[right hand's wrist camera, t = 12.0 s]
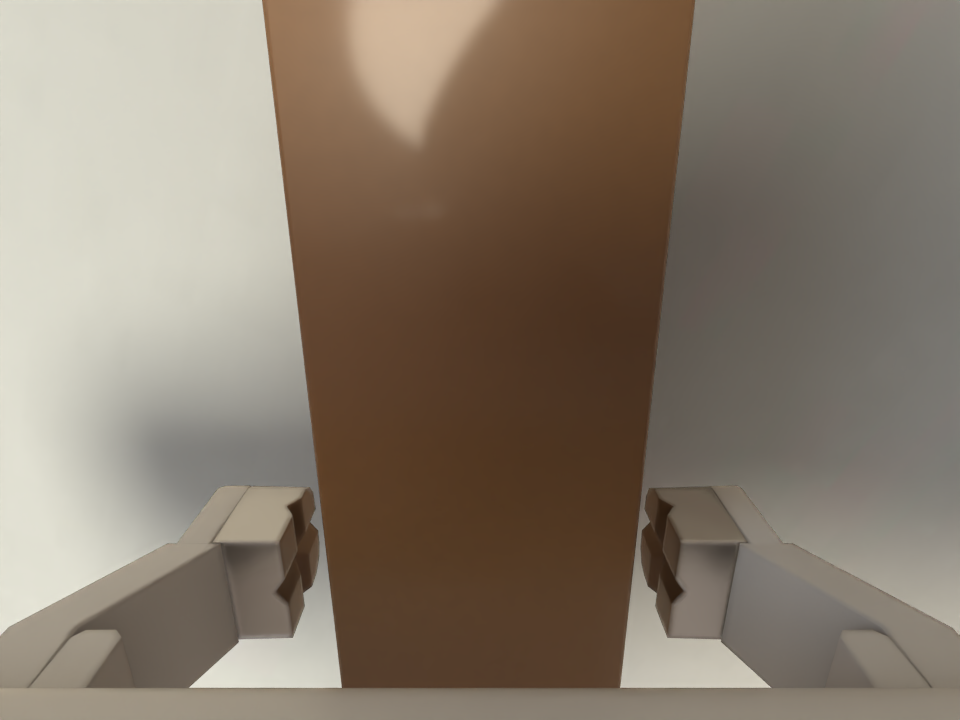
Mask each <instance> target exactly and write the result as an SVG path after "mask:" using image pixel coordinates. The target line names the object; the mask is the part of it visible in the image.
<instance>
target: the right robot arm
mask: <svg viewBox="0 0 960 720" xmlns="http://www.w3.org/2000/svg"><path fill="white" fill-rule="evenodd" d="M315 509H316V508H315V502H314V495H313V491H312V490H311V489H310V487H280V486H223V487H220V488H218V489H217V490H216V492H215V493H214V494H213V496H212V497H211V498H210V500H209V501H208V502H207V504H206V505H205V506H204V508H203V509H202V510H201V512H200V513H199V514H198V516H197V517H196V518H195V520H194V521H193V523H192V524H191V525H190V527H189V528H188V529H187V531H186V532H185V533H184V535H183V536H182V537H181V539H180V540H179V541H178V543H168V544H166V545H164V546H162V547H160V548H158V549H156V550H154V551H152V552H150V553H149V554H147V555H145V556H143V557H141V558H139V559H137V560H135V561H133V562H132V563H130V564H128V565H126V566H124V567H122V568H120V569H118V570H116V571H114V572H113V573H111V574H109V575H107V576H105V577H103V578H101V579H99V580H97V581H95V582H94V583H92V584H90V585H88V586H86V587H84V588H82V589H80V590H78V591H76V592H75V593H73V594H71V595H69V596H67V597H65V598H63V599H61V600H59V601H57V602H56V603H54V604H52V605H50V606H48V607H46V608H44V609H42V610H40V611H38V612H37V613H35V614H33V615H31V616H29V617H27V618H25V619H23V620H21V621H20V622H18V623H16V624H14V625H12V626H10V627H8V628H7V630H6V631H5V632H4V633H3V634H2V635H1V636H0V720H960V635H959V634H958V633H957V632H956V631H955V630H954V629H953V628H951V627H950V626H948V625H946V624H944V623H942V622H940V621H938V620H936V619H934V618H933V617H931V616H929V615H927V614H925V613H923V612H921V611H919V610H917V609H916V608H914V607H912V606H910V605H908V604H906V603H904V602H902V601H900V600H898V599H897V598H895V597H893V596H891V595H889V594H887V593H885V592H883V591H881V590H880V589H878V588H876V587H874V586H872V585H870V584H868V583H866V582H864V581H863V580H861V579H859V578H857V577H855V576H853V575H851V574H849V573H847V572H846V571H844V570H842V569H840V568H838V567H836V566H834V565H832V564H830V563H828V562H827V561H825V560H823V559H821V558H819V557H817V556H815V555H813V554H811V553H810V552H808V551H806V550H804V549H802V548H800V547H798V546H796V545H794V544H793V543H783V542H782V541H781V540H780V539H779V537H778V536H777V535H776V533H775V532H774V531H773V529H772V528H771V527H770V525H769V524H768V523H767V521H766V520H765V519H764V517H763V516H762V515H761V513H760V512H759V511H758V509H757V508H756V507H755V505H754V504H753V503H752V501H751V500H750V499H749V497H748V496H747V495H746V493H745V492H744V491H743V489H742V488H740V487H738V486H736V485H732V486H707V487H673V488H649V489H648V492H647V495H646V501H645V511H646V513H647V516H648V518H649V520H650V523H649V524H648V525H647V526H646V527H645V528H644V529H643V530H642V536H641V562H642V568H643V572H644V576H645V579H646V582H647V585H648V587H650V588H651V589H652V590H654V591H655V592H656V593H657V597H656V605H655V606H656V609H657V612H658V614H659V617H660V619H661V622H662V625H663V627H664V630H665V633H666V635H667V638H696V639H722V640H721V642H722V643H723V644H724V645H725V646H726V647H728V648H729V649H730V650H731V651H732V652H733V653H734V654H735V655H736V656H737V657H739V658H740V659H741V660H742V661H743V662H744V663H745V664H746V665H747V666H748V667H750V668H751V669H752V670H753V671H754V672H755V673H756V674H757V675H758V676H759V677H760V678H762V679H763V680H764V681H765V682H766V683H767V684H768V685H769V686H770V687H771V688H189V687H190V686H191V685H192V684H193V683H194V682H195V681H197V680H198V679H199V678H200V677H201V676H202V675H203V674H204V673H205V672H206V671H208V670H209V669H210V668H211V667H212V666H213V665H214V664H215V663H216V662H217V661H219V660H220V659H221V658H222V657H223V656H224V655H225V654H226V653H227V652H228V651H230V650H231V649H232V648H233V647H234V646H235V645H236V644H237V643H238V642H239V640H238V639H264V638H293V636H294V633H295V630H296V628H297V625H298V622H299V620H300V617H301V614H302V612H303V609H304V607H305V605H304V597H303V593H304V592H305V591H306V590H308V589H309V588H310V587H312V585H313V582H314V579H315V576H316V573H317V567H318V561H319V535H318V530H317V529H316V528H315V527H314V526H313V525H312V524H311V522H310V521H311V518H312V516H313V514H314V511H315Z"/></svg>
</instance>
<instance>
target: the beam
mask: <svg viewBox="0 0 960 720" xmlns="http://www.w3.org/2000/svg"><path fill="white" fill-rule="evenodd" d="M262 3H263V12H264V21H265V29H266V38H267V46H268V55H269V64H270V72H271V81H272V89H273V98H274V107H275V115H276V124H277V133H278V141H279V150H280V158H281V167H282V176H283V184H284V193H285V201H286V210H287V219H288V227H289V236H290V245H291V253H292V262H293V270H294V279H295V288H296V296H297V305H298V313H299V322H300V331H301V339H302V348H303V356H304V365H305V374H306V382H307V391H308V400H309V408H310V417H311V425H312V434H313V443H314V451H315V460H316V468H317V477H318V486H319V494H320V503H321V512H322V520H323V529H324V537H325V546H326V555H327V563H328V572H329V580H330V589H331V598H332V606H333V615H334V624H335V632H336V641H337V649H338V658H339V667H340V675H341V684H342V688H620V684H621V675H622V666H623V657H624V648H625V639H626V629H627V620H628V611H629V602H630V593H631V584H632V575H633V565H634V556H635V547H636V538H637V529H638V520H639V510H640V501H641V492H642V483H643V474H644V465H645V456H646V446H647V437H648V428H649V419H650V410H651V401H652V391H653V382H654V373H655V364H656V355H657V346H658V337H659V327H660V318H661V309H662V300H663V291H664V282H665V273H666V263H667V254H668V245H669V236H670V227H671V218H672V208H673V199H674V190H675V181H676V172H677V163H678V154H679V144H680V135H681V126H682V117H683V108H684V99H685V90H686V80H687V71H688V62H689V53H690V44H691V35H692V25H693V16H694V7H695V0H262Z"/></svg>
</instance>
